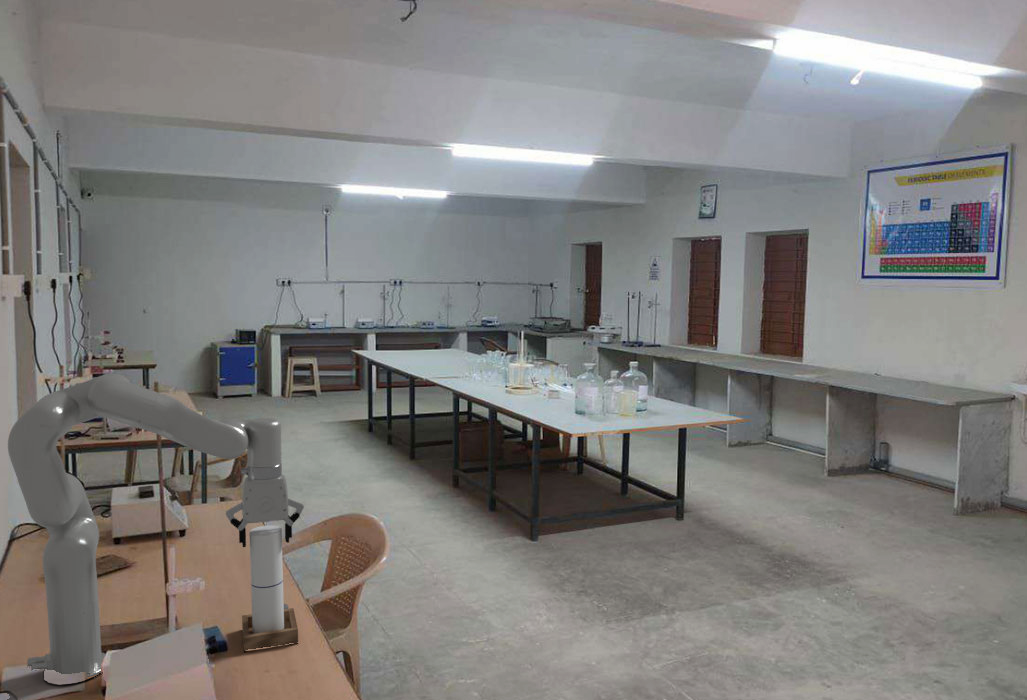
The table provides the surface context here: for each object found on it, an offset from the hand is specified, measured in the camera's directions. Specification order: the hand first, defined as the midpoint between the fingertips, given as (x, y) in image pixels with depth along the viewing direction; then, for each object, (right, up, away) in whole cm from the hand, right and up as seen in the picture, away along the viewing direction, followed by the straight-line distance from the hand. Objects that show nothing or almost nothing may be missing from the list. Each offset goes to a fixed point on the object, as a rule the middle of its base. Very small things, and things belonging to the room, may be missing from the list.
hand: (265, 543), depth 179 cm
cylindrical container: (0, -22, +2) cm, 22 cm away
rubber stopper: (0, -22, +12) cm, 25 cm away
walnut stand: (0, -23, +3) cm, 23 cm away
